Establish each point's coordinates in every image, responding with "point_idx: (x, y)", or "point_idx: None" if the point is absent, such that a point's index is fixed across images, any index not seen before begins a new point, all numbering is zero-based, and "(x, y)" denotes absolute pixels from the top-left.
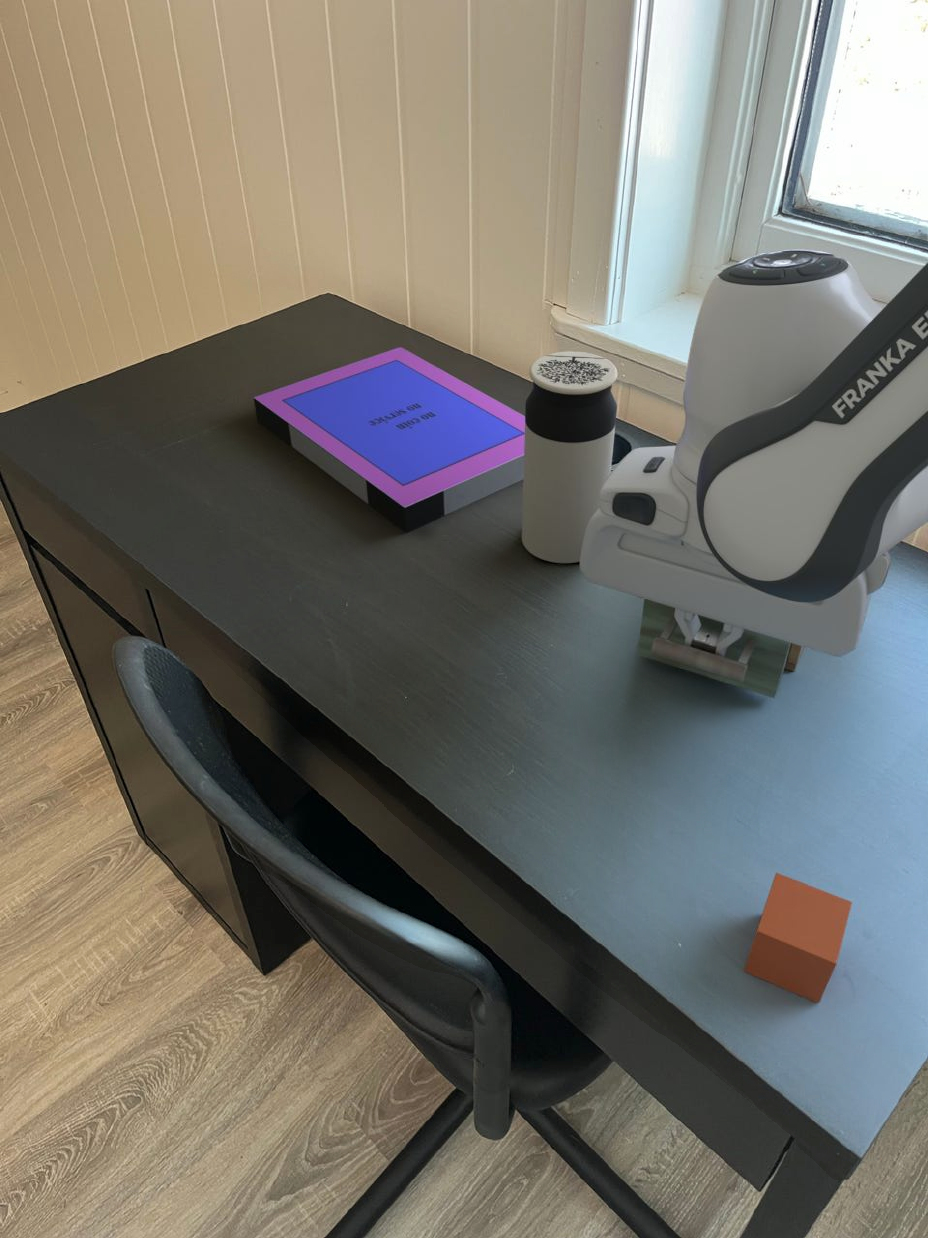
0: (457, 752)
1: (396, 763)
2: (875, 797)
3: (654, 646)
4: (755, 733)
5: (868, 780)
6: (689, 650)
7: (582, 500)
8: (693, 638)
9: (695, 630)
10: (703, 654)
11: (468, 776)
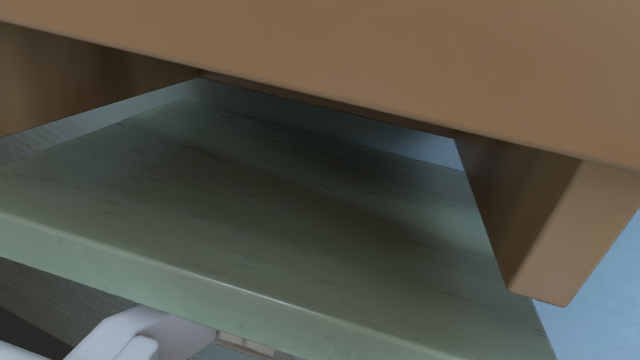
0: (75, 311)
1: (39, 325)
2: (622, 356)
3: None
4: None
5: (622, 329)
6: (223, 343)
7: None
8: (214, 340)
9: (207, 327)
10: (257, 355)
11: None
